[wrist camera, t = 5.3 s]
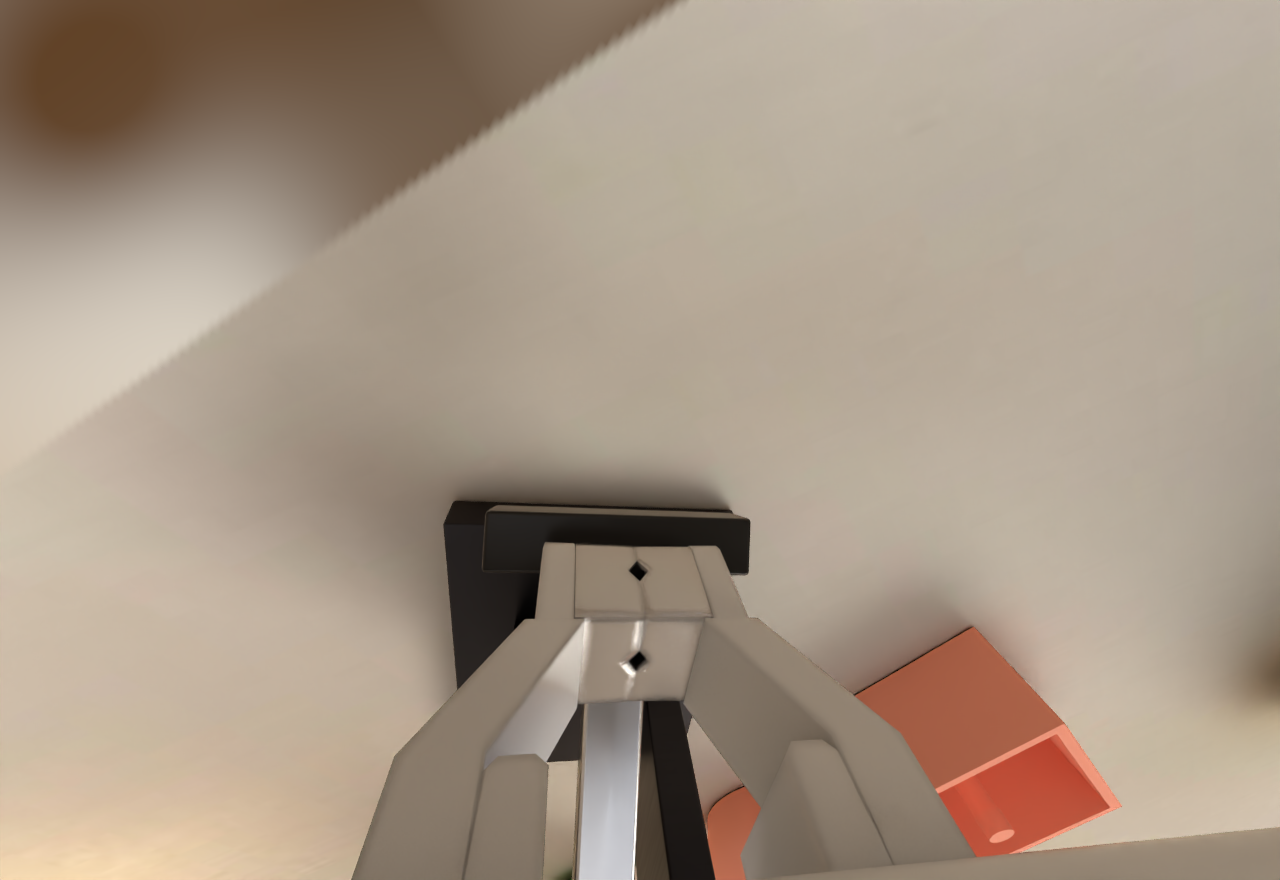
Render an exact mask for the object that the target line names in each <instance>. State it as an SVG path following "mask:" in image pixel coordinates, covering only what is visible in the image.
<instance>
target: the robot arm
mask: <svg viewBox="0 0 1280 880" xmlns="http://www.w3.org/2000/svg"><path fill="white" fill-rule="evenodd" d="M624 701H684V703H683V704H684V705H685V707H686V708H687V709H688V711H689V712H690V713H691V715H692V716H693V717H694V719H695V720H696V721H697V723H698V724H699V725H700V727H701V728H702V730H703V731H704V732H705V734H706V735H707V736H708V738H709V739H710V740H711V742H712V743H713V744H714V746H715V747H716V748H717V750H718V751H719V752H720V754H721V755H722V756H723V758H724V759H725V760H726V762H727V763H728V764H729V766H730V767H731V768H732V770H733V771H734V772H735V774H736V775H737V776H738V778H739V779H740V781H741V782H742V783H743V785H744V786H745V787H746V789H747V790H748V791H749V793H750V794H751V795H752V797H753V798H754V799H755V801H756V802H757V803H758V805H759V806H760V807H761V810H760V812H759V814H758V816H757V819H756V821H755V823H754V825H753V828H752V830H751V832H750V834H749V837H748V839H747V841H746V843H745V846H744V848H743V850H742V852H741V855H740V857H741V861H742V865H743V869H744V873H745V878H746V880H1280V827H1275V828H1264V829H1254V830H1244V831H1234V832H1224V833H1214V834H1204V835H1194V836H1184V837H1174V838H1164V839H1154V840H1144V841H1134V842H1124V843H1114V844H1103V845H1093V846H1083V847H1073V848H1063V849H1053V850H1043V851H1033V852H1023V853H1013V854H1003V855H993V856H983V857H976V855H975V854H974V852H973V850H972V849H971V847H970V845H969V844H968V842H967V840H966V839H965V837H964V836H963V834H962V832H961V831H960V829H959V827H958V826H957V824H956V822H955V821H954V819H953V818H952V816H951V814H950V813H949V811H948V809H947V808H946V806H945V804H944V803H943V801H942V800H941V798H940V796H939V795H938V793H937V791H936V790H935V788H934V786H933V785H932V783H931V782H930V780H929V778H928V777H927V775H926V773H925V772H924V770H923V769H922V767H921V765H920V764H919V762H918V760H917V759H916V757H915V755H914V754H913V752H912V751H911V749H910V747H909V746H908V744H907V742H906V741H905V739H904V737H903V736H902V734H901V733H900V732H899V731H898V730H896V729H895V728H894V727H893V726H891V725H890V724H889V723H888V722H886V721H885V720H884V719H883V718H881V717H880V716H879V715H878V714H876V713H875V712H874V711H873V710H871V709H870V708H869V707H868V706H866V705H865V704H864V703H863V702H861V701H860V700H859V699H858V698H856V697H855V696H854V695H853V694H851V693H850V692H849V691H848V690H846V689H845V688H844V687H843V686H841V685H840V684H839V683H838V682H837V681H835V680H834V679H833V678H832V677H830V676H829V675H828V674H827V673H825V672H824V671H823V670H822V669H820V668H819V667H818V666H817V665H815V664H814V663H813V662H812V661H810V660H809V659H808V658H807V657H805V656H804V655H803V654H802V653H800V652H799V651H798V650H797V649H795V648H794V647H793V646H792V645H790V644H789V643H788V642H787V641H785V640H784V639H783V638H782V637H781V636H779V635H778V634H777V633H776V632H774V631H773V630H772V629H771V628H769V627H768V626H767V625H766V624H764V623H763V622H762V621H761V620H759V619H758V618H749V617H748V615H747V613H746V610H745V608H744V605H743V603H742V601H741V598H740V596H739V594H738V591H737V589H736V586H735V584H734V582H733V579H732V577H731V575H730V572H729V570H728V567H727V565H726V563H725V560H724V558H723V556H722V553H721V551H720V549H719V548H718V547H717V546H688V547H686V546H633V545H611V544H588V543H576V545H575V544H574V543H554V542H545V544H544V547H543V552H542V561H541V569H540V578H539V587H538V595H537V604H536V613H535V619H524V621H523V622H522V623H521V624H520V625H519V626H518V627H517V628H516V629H515V630H514V631H513V632H512V633H511V634H510V635H509V636H508V637H507V638H506V639H505V641H504V642H503V643H502V644H501V645H500V646H499V647H498V648H497V649H496V650H495V651H494V652H493V653H492V654H491V655H490V656H489V657H488V658H487V659H486V661H485V662H484V663H483V664H482V665H481V666H480V667H479V668H478V669H477V670H476V671H475V672H474V673H473V674H472V675H471V676H470V677H469V678H468V679H467V681H466V682H465V683H464V684H463V685H462V686H461V687H460V688H459V689H458V690H457V691H456V692H455V693H454V694H453V695H452V696H451V697H450V698H449V699H448V701H447V702H446V703H445V704H444V705H443V706H442V707H441V708H440V709H439V710H438V711H437V712H436V713H435V714H434V715H433V716H432V717H431V718H430V720H429V721H428V722H427V723H426V724H425V725H424V726H423V727H422V728H421V729H420V730H419V731H418V732H417V733H416V734H415V735H414V736H413V737H412V738H411V740H410V741H409V742H408V743H407V744H406V745H405V746H404V747H403V748H402V749H401V750H400V751H399V752H398V753H397V754H396V755H395V756H394V759H393V762H392V765H391V768H390V770H389V773H388V776H387V779H386V782H385V785H384V788H383V790H382V793H381V796H380V799H379V802H378V805H377V808H376V810H375V813H374V816H373V819H372V822H371V825H370V828H369V831H368V833H367V836H366V839H365V842H364V845H363V848H362V851H361V853H360V856H359V859H358V862H357V865H356V868H355V871H354V873H353V876H352V879H351V880H543V866H544V846H545V826H546V806H547V786H548V766H549V765H548V764H547V763H546V762H547V760H548V758H549V756H550V755H551V753H552V751H553V749H554V748H555V746H556V744H557V742H558V741H559V739H560V737H561V735H562V734H563V732H564V730H565V728H566V726H567V725H568V723H569V721H570V719H571V718H572V716H573V714H574V712H575V711H576V709H577V704H593V703H609V702H624Z"/></svg>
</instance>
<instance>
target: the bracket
mask: <svg viewBox="0 0 1280 880" xmlns="http://www.w3.org/2000/svg"><path fill="white" fill-rule="evenodd" d="M497 505H510V506H540V507H569V508H599V509H629V510H659V511H688V512H718V513H732V511H731V510H705V509H676V508H647V507H618V506H589V505H560V504H531V503H502V502H473V501H454V502H453V504H452V506H451V508H450V511H449V513H448V515H447V517H446V520H445V522H444V524H443V525H444V537H445V549H446V561H447V572H448V584H449V596H450V608H451V620H452V632H453V644H454V656H455V668H456V680H457V690H458V689H459V688H460V687H461V686H462V685H463V684H464V683H465V682H466V681H467V679H468V678H469V677H470V676H471V675H472V674H473V673H474V672H475V671H476V670H477V669H478V668H479V667H480V666H481V665H482V664H483V663H484V662H485V661H486V659H487V658H488V657H489V656H490V655H491V654H492V653H493V652H494V651H495V650H496V649H497V648H498V647H499V646H500V645H501V644H502V643H503V642H504V641H505V639H506V638H507V637H508V636H509V635H510V634H511V633H512V632H513V631H514V630H515V629H516V628H517V627H518V626H519V625H520V624H521V623H522V622H523V621H524V619H535V613H536V604H537V595H538V587H539V578H540V573H490V572H483V570H482V557H483V542H484V527H485V514H486V512H487V511H488V510H490V509H491V508H493V507H495V506H497ZM732 514H733V513H732ZM683 703H684V701H643V720H642V741H641V762H640V783H639V804H638V825H637V845H636V872H637V880H716V879H715V874H714V869H713V864H712V859H711V854H710V849H709V844H708V839H707V834H706V829H705V824H704V819H703V814H702V809H701V804H700V799H699V794H698V789H697V784H696V779H695V774H694V769H693V764H692V759H691V754H690V749H689V744H688V739H687V733H688V729H689V725H690V722H691V718H692V715H691V713H690V712H689V711H688V709H687V708H686V707H685V705H684V704H683ZM580 722H581V704H577V709H576V711H575V712H574V714H573V716H572V718H571V719H570V721H569V723H568V725H567V726H566V728H565V730H564V732H563V734H562V735H561V737H560V739H559V741H558V742H557V744H556V746H555V748H554V749H553V751H552V753H551V755H550V756H549V758H548V760H547V762H557V761H576V760H578V758H579V740H580Z"/></svg>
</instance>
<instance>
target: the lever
mask: <svg viewBox="0 0 1280 880" xmlns="http://www.w3.org/2000/svg"><path fill="white" fill-rule="evenodd" d="M545 542H554V543H574V544H575V545H576V543H588V544H611V545H633V546H686V547H688V546H717V547H718V548H719V549H720V551H721V553H722V556H723V558H724V560H725V563H726V565H727V567H728V570H729V572H730V575H747V574H748V572H749V546H750V520H749V519H747V518H744V517H741V516H738V515H735V514H732V513H718V512H688V511H659V510H629V509H599V508H569V507H540V506H510V505H497V506H495V507H493V508H491V509H490V510H488V511H487V512H486V514H485V527H484V542H483V557H482V570H483V572H490V573H540V569H541V561H542V552H543V547H544V544H545ZM642 720H643V701H624V702H609V703H593V704H581V722H580V740H579V758H578V776H577V795H576V813H575V831H574V849H573V867H572V880H635V866H636V845H637V825H638V804H639V783H640V762H641V741H642Z"/></svg>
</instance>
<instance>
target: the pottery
mask: <svg viewBox="0 0 1280 880" xmlns="http://www.w3.org/2000/svg"><path fill="white" fill-rule="evenodd" d="M855 697H856V698H858V699H859V700H860V701H861V702H863V703H864V704H865V705H866V706H868V707H869V708H870V709H871V710H873V711H874V712H875V713H876V714H878V715H879V716H880V717H881V718H883V719H884V720H885V721H886V722H888V723H889V724H890V725H891V726H893V727H894V728H895V729H896V730H898V731H899V732H900V733H901V734H902V736H903V737H904V739H905V741H906V742H907V744H908V746H909V747H910V749H911V751H912V752H913V754H914V755H915V757H916V759H917V760H918V762H919V764H920V765H921V767H922V769H923V770H924V772H925V773H926V775H927V777H928V778H929V780H930V782H931V783H932V785H933V786H934V788H935V790H936V791H937V793H938V795H939V796H940V798H941V800H942V801H943V803H944V804H945V806H946V808H947V809H948V811H949V813H950V814H951V816H952V818H953V819H954V821H955V822H956V824H957V826H958V827H959V829H960V831H961V832H962V834H963V836H964V837H965V839H966V840H967V842H968V844H969V845H970V847H971V849H972V850H973V852H974V854H975V855H976V857H983V856H993V855H1003V854H1013V853H1020V852H1022V851H1025V850H1027V849H1029V848H1031V847H1033V846H1036V845H1038V844H1040V843H1042V842H1044V841H1047V840H1049V839H1051V838H1053V837H1056V836H1058V835H1060V834H1062V833H1064V832H1067V831H1069V830H1071V829H1073V828H1075V827H1078V826H1080V825H1082V824H1084V823H1086V822H1089V821H1091V820H1093V819H1095V818H1098V817H1100V816H1102V815H1104V814H1106V813H1109V812H1111V811H1113V810H1115V809H1117V808H1120V807H1122V806H1121V804H1120V803H1119V801H1118V800H1117V798H1116V797H1115V795H1114V794H1113V793H1112V791H1111V790H1110V788H1109V787H1108V785H1107V784H1106V782H1105V781H1104V779H1103V778H1102V777H1101V775H1100V774H1099V772H1098V771H1097V769H1096V768H1095V766H1094V765H1093V764H1092V762H1091V761H1090V759H1089V758H1088V756H1087V755H1086V753H1085V752H1084V750H1083V749H1082V748H1081V746H1080V745H1079V743H1078V742H1077V740H1076V739H1075V737H1074V736H1073V735H1072V733H1071V732H1070V730H1069V729H1068V727H1067V726H1066V724H1065V723H1064V722H1063V721H1062V720H1061V719H1060V718H1059V717H1058V716H1057V714H1056V713H1055V712H1054V711H1053V710H1052V709H1051V708H1050V707H1049V706H1048V705H1047V704H1046V703H1045V702H1044V701H1043V700H1042V699H1041V698H1040V696H1039V695H1038V694H1037V693H1036V692H1035V691H1034V690H1033V689H1032V688H1031V687H1030V686H1029V685H1028V684H1027V683H1026V682H1025V681H1024V679H1023V678H1022V677H1021V676H1020V675H1019V674H1018V673H1017V672H1016V671H1015V670H1014V669H1013V668H1012V667H1011V666H1010V665H1009V664H1008V663H1007V661H1006V660H1005V659H1004V658H1003V657H1002V656H1001V655H1000V654H999V653H998V652H997V651H996V650H995V649H994V648H993V647H992V646H991V644H990V643H989V642H988V641H987V640H986V639H985V638H984V637H983V636H982V635H981V634H980V633H979V632H978V631H977V630H976V629H975V628H974V627H972V628H970V629H968V630H967V631H965V632H963V633H962V634H960V635H958V636H956V637H955V638H953V639H951V640H950V641H948V642H946V643H944V644H943V645H941V646H939V647H938V648H936V649H934V650H932V651H931V652H929V653H927V654H926V655H924V656H922V657H920V658H919V659H917V660H915V661H914V662H912V663H910V664H908V665H907V666H905V667H903V668H902V669H900V670H898V671H896V672H895V673H893V674H891V675H890V676H888V677H886V678H884V679H883V680H881V681H879V682H878V683H876V684H874V685H872V686H871V687H869V688H867V689H866V690H864V691H862V692H860V693H859V694H857V695H855ZM760 810H761V807H760V806H759V805H758V803H757V802H756V801H755V799H754V798H753V797H752V795H751V794H750V793H749V791H748V790H747V789H746V787H743V788H740V789H738V790H736V791H734V792H732V793H730V794H728V795H726V796H725V797H724V798H722V799H721V800H720V801H718V802H717V803H716V804H715V805H714V806H713V807H712V809H711V811H710V812H709V815H708V818H707V821H708V844H709V849H710V854H711V859H712V864H713V869H714V874H715V879H716V880H746V878H745V873H744V869H743V865H742V861H741V857H740V855H741V852H742V850H743V848H744V846H745V843H746V841H747V839H748V837H749V834H750V832H751V830H752V828H753V825H754V823H755V821H756V819H757V816H758V814H759V812H760Z"/></svg>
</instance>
